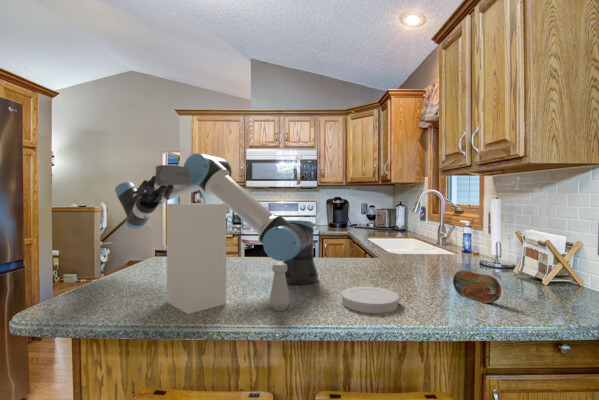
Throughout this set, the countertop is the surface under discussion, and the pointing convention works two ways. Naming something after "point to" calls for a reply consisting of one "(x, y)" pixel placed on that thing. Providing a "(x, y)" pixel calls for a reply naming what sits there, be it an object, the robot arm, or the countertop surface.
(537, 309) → the countertop surface
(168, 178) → the panel with wooden post
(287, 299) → the salt shaker
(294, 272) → the robot arm
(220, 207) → the pedestal
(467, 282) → the tin
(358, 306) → the lid
